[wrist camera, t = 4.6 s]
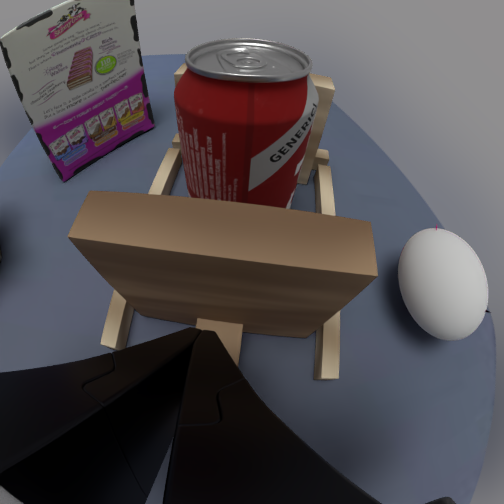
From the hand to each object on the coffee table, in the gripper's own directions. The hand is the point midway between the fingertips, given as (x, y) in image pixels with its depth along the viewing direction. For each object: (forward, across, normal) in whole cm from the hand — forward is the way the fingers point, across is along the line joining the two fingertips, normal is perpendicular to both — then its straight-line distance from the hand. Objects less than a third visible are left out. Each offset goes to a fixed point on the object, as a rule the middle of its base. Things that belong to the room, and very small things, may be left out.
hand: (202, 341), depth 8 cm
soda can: (+13, 0, +2) cm, 13 cm away
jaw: (+5, 0, -5) cm, 7 cm away
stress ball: (+9, +14, -2) cm, 17 cm away
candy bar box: (+18, -16, +7) cm, 25 cm away
